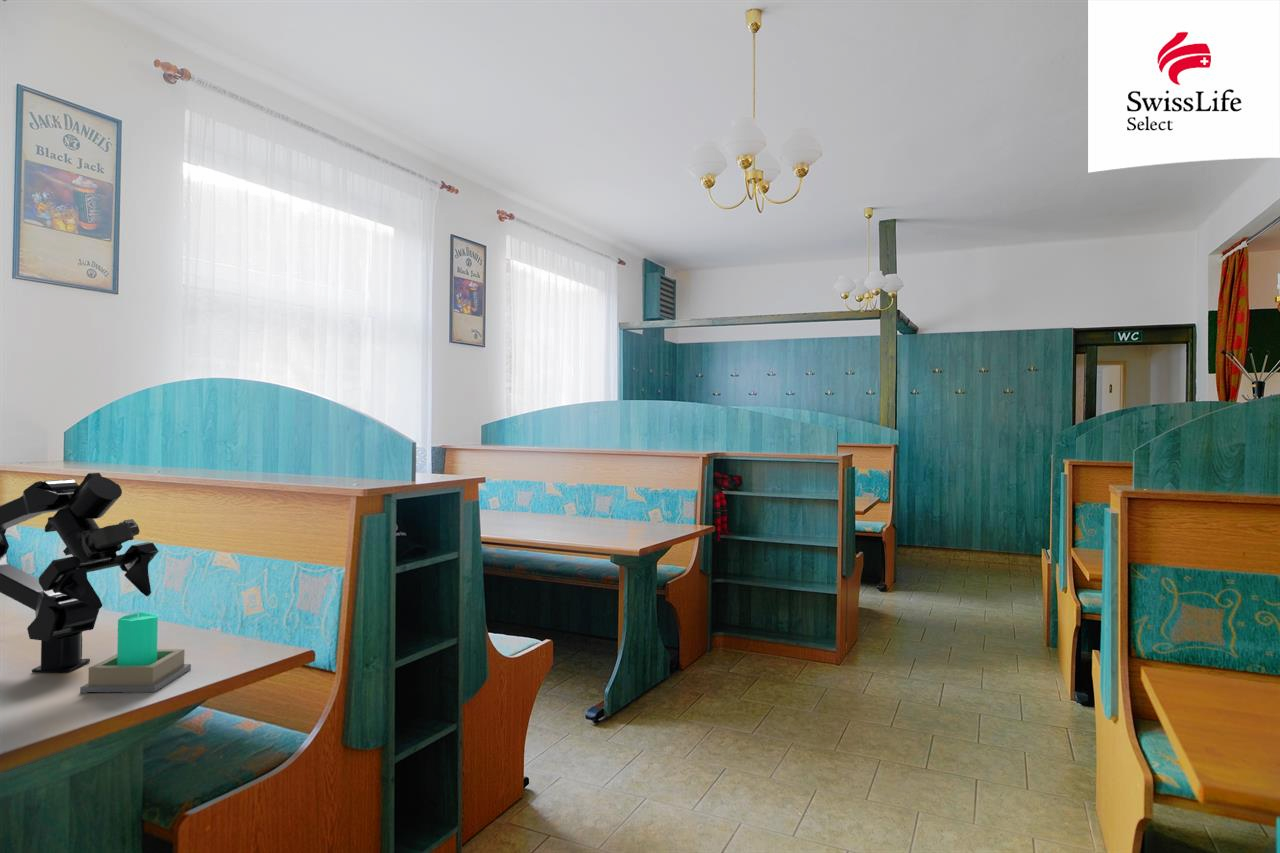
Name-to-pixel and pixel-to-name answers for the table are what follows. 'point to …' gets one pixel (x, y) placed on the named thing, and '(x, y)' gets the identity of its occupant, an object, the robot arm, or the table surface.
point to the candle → (137, 639)
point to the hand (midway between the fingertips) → (125, 600)
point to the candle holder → (136, 674)
